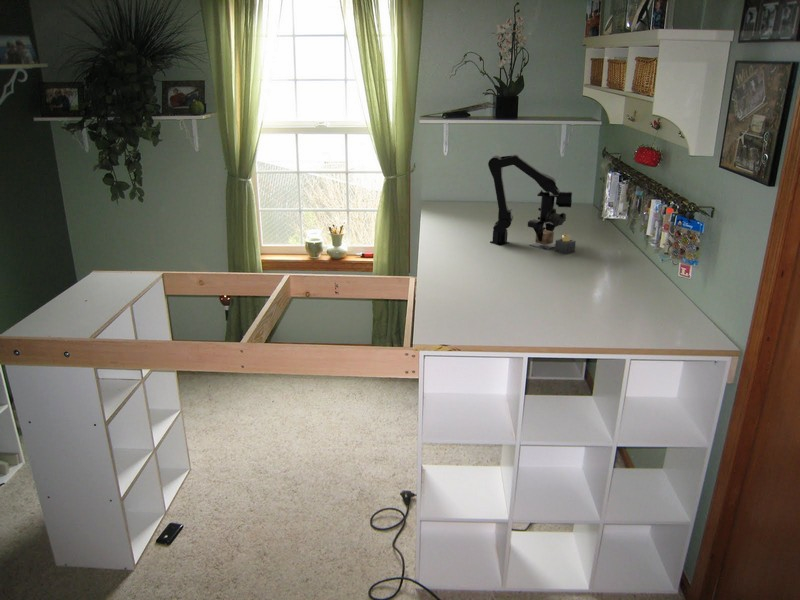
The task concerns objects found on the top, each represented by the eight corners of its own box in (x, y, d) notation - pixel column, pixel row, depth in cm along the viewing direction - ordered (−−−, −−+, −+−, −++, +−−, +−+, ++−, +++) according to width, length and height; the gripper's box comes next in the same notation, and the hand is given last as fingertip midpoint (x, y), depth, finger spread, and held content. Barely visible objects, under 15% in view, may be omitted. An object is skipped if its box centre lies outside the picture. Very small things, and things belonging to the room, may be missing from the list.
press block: (565, 254, 280) (567, 243, 279) (554, 251, 285) (555, 240, 283) (574, 251, 284) (575, 240, 282) (563, 248, 288) (564, 238, 286)
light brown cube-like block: (545, 244, 288) (545, 234, 287) (535, 242, 292) (536, 231, 291) (552, 242, 292) (553, 232, 290) (543, 240, 296) (544, 229, 294)
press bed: (545, 249, 287) (545, 249, 287) (529, 245, 293) (529, 244, 293) (558, 246, 292) (558, 245, 292) (542, 242, 299) (542, 241, 298)
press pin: (565, 247, 281) (567, 236, 279) (559, 245, 284) (560, 234, 282) (571, 246, 283) (572, 235, 281) (564, 244, 286) (565, 233, 284)
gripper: (548, 212, 275) (545, 248, 280) (575, 206, 286) (571, 240, 291) (527, 207, 283) (525, 242, 288) (555, 202, 294) (552, 235, 299)
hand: (544, 240), depth 292 cm, fingers closed on light brown cube-like block, 5 cm apart
